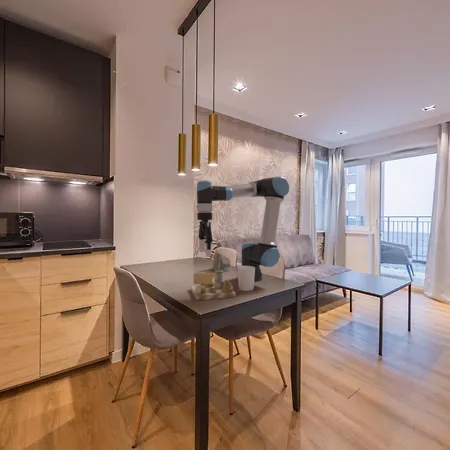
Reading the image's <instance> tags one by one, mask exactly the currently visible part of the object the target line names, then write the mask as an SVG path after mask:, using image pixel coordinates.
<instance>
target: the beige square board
mask: <svg viewBox="0 0 450 450" xmlns="http://www.w3.org/2000/svg"><path fill="white" fill-rule="evenodd" d="M213 273H214V279H212V284H206V293H201V284H195V285H190V291H191V293H192V295H193V296H194V298H195V300H196V301H204V300H215V299H217V300H218V299H227V298H236V297H237V296H236V295H237V292H235V290H234V287H233V284H232V282H231V281H230V280H229V279H226V280H225V278H224V277H225V276H224V275H225V272H224V271H223V270H222V271H215V270H214V272H213Z"/></svg>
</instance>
